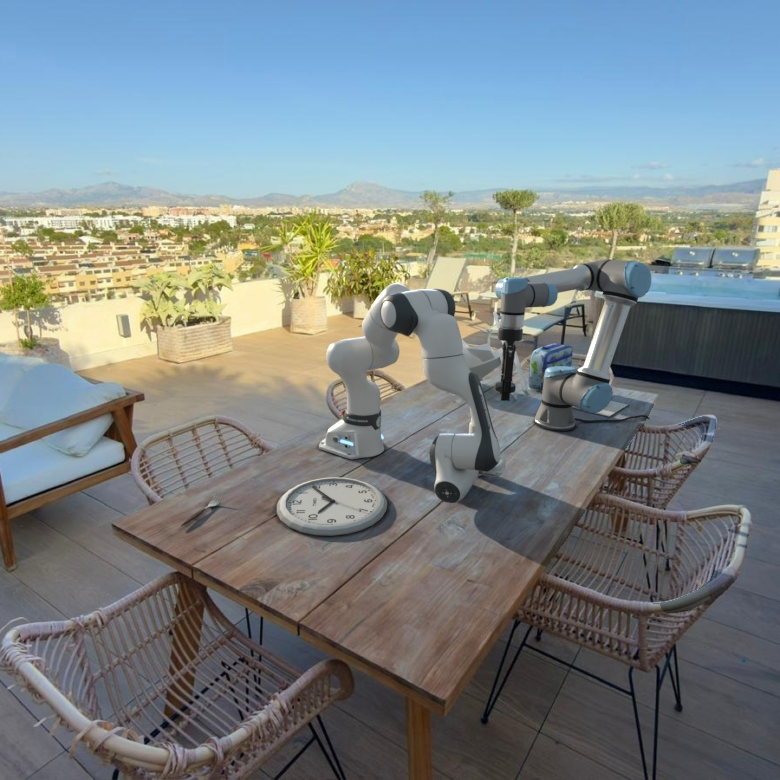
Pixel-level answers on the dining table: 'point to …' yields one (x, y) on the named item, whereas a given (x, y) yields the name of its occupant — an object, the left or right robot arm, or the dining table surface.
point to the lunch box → (547, 362)
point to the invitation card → (611, 408)
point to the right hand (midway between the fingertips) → (504, 396)
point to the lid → (499, 387)
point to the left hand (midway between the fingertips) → (477, 451)
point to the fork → (211, 504)
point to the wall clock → (331, 506)
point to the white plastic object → (490, 360)
